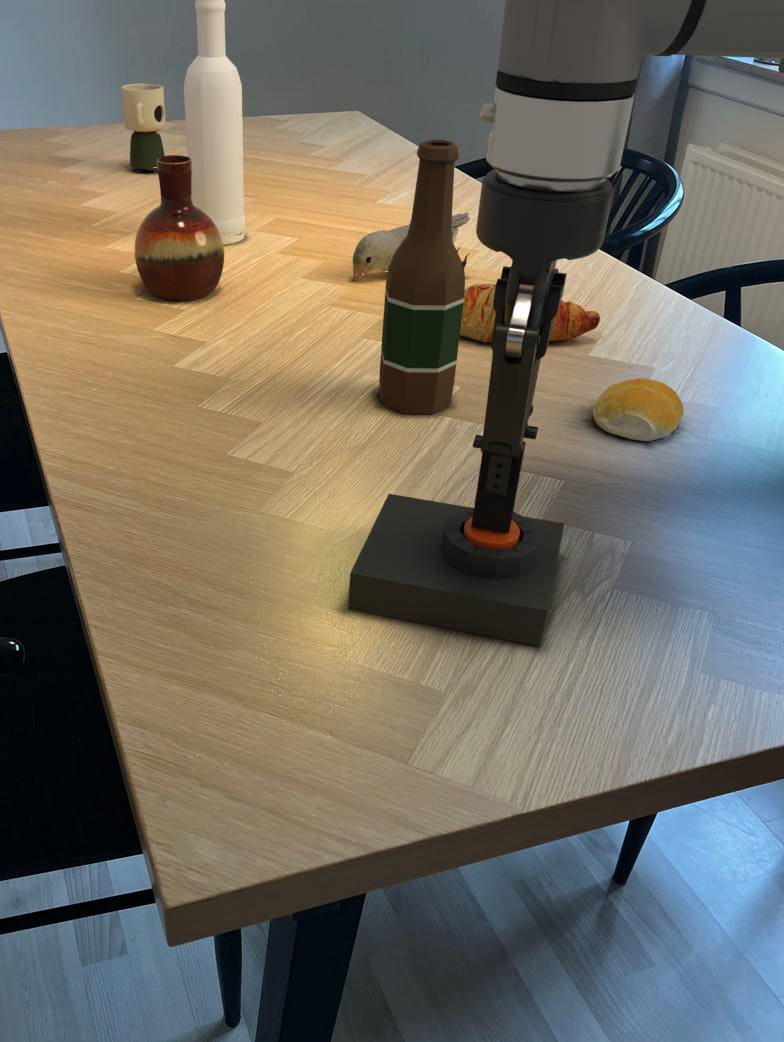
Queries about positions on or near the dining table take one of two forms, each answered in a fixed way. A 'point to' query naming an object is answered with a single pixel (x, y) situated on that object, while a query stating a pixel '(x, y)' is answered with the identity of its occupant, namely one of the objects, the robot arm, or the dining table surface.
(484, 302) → the croissant
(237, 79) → the bottle
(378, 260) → the decorative bird
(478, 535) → the orange button cap
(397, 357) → the beer bottle
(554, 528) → the push button switch
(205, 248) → the vase
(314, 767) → the dining table surface
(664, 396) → the bread roll
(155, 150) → the character mug
